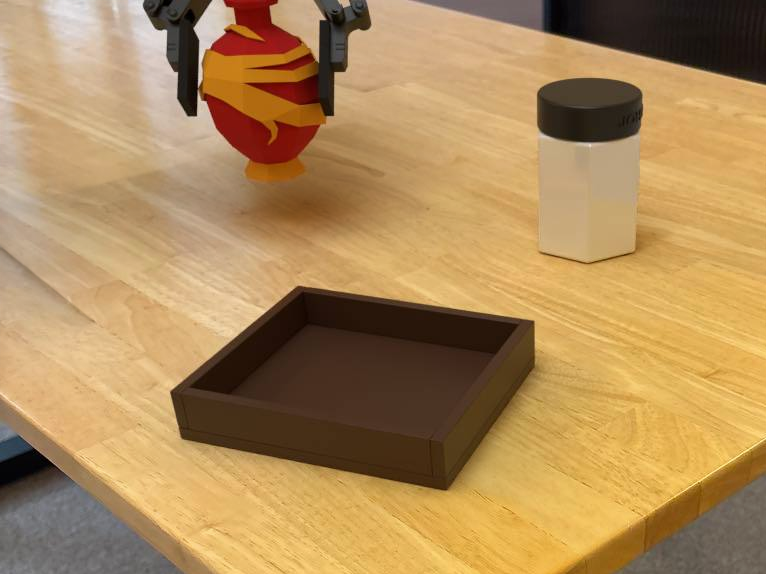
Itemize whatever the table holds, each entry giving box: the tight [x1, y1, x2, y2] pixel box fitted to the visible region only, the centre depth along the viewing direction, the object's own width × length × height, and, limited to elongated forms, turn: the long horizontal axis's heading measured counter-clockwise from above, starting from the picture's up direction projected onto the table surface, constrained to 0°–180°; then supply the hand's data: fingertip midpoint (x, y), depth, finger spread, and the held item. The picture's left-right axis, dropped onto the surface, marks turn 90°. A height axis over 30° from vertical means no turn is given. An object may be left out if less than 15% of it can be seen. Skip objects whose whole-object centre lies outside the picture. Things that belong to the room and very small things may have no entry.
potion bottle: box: [198, 0, 328, 183], centre depth 86 cm, size 10×10×15 cm
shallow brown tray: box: [169, 285, 536, 491], centre depth 69 cm, size 18×16×3 cm
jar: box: [536, 77, 644, 264], centre depth 86 cm, size 9×8×12 cm
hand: (256, 107), depth 85 cm, fingers closed on potion bottle, 10 cm apart
